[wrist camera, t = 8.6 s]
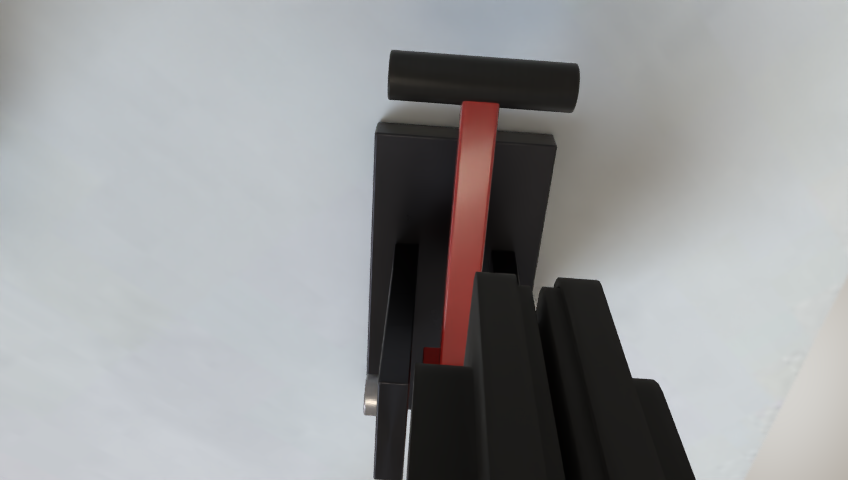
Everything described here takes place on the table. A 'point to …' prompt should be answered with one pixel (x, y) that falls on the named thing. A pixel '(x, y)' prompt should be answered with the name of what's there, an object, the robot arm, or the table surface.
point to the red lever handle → (475, 153)
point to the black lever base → (436, 254)
